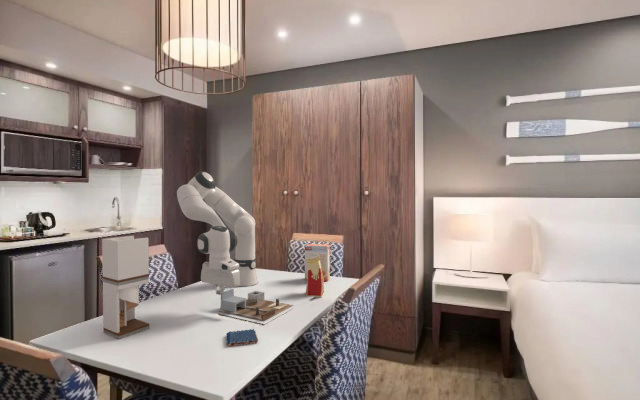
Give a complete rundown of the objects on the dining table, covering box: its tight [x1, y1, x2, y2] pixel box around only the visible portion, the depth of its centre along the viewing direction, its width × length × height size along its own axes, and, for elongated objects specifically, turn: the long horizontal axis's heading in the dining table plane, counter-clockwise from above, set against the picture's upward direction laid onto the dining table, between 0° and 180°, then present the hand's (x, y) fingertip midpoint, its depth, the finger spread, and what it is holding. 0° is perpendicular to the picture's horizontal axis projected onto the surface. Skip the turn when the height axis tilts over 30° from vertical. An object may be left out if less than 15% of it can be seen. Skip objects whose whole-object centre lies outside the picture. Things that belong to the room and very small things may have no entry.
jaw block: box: [247, 290, 265, 304], centre depth 162 cm, size 5×5×4 cm
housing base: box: [217, 298, 294, 326], centre depth 153 cm, size 24×22×4 cm
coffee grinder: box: [101, 235, 150, 340], centre depth 131 cm, size 11×11×35 cm
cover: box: [220, 288, 247, 312], centre depth 151 cm, size 8×7×7 cm
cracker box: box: [304, 243, 331, 282], centre depth 208 cm, size 14×6×21 cm, turn 76°
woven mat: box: [226, 328, 259, 347], centre depth 124 cm, size 10×11×2 cm
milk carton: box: [305, 256, 325, 298], centre depth 178 cm, size 9×9×20 cm
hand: (219, 294), depth 154 cm, fingers closed
